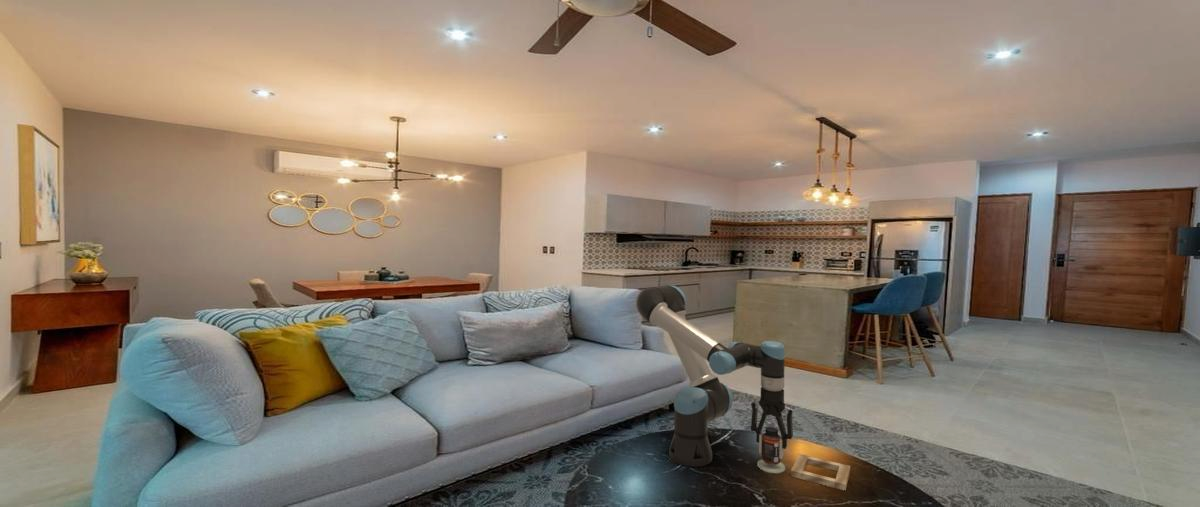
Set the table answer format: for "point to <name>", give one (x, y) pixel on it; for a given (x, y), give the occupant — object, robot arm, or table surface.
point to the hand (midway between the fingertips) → (771, 454)
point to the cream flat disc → (771, 467)
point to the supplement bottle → (771, 446)
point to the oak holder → (835, 483)
